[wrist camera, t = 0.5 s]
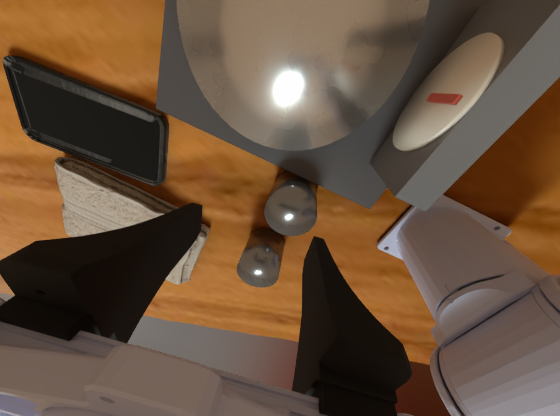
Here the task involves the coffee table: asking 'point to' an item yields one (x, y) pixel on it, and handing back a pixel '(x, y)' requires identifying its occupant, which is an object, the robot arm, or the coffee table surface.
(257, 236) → the cylinder
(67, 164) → the washcloth
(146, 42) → the coffee table surface
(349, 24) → the pan
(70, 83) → the phone
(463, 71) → the scale
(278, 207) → the cylinder
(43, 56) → the coffee table surface
